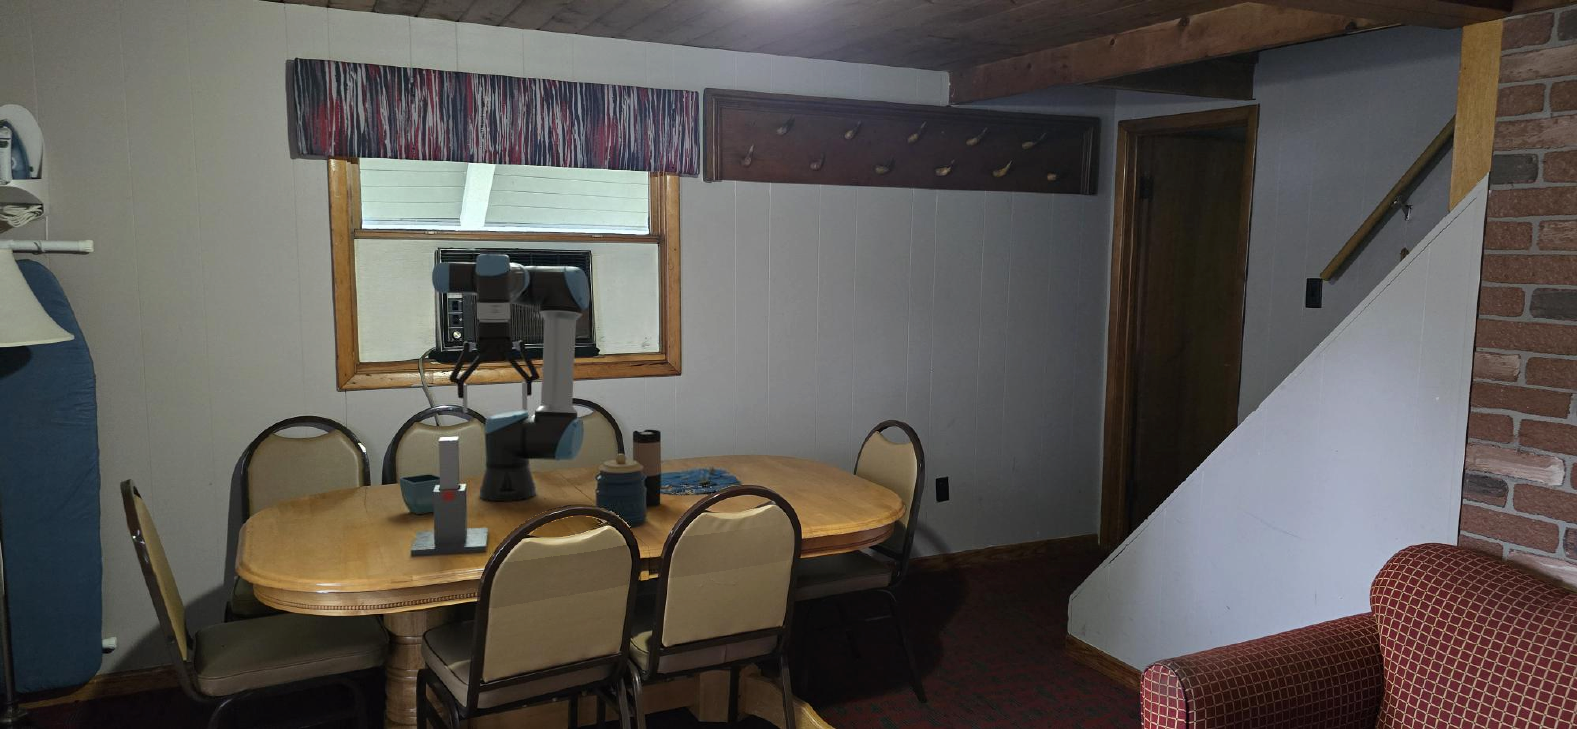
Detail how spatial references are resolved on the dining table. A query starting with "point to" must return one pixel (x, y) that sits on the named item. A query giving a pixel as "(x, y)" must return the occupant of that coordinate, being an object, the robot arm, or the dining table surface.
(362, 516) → the dining table surface
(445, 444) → the stand post
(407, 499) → the flower pot
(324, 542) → the dining table surface
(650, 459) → the travel mug
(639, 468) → the canister
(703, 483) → the ocean terrain model
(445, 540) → the jack stand base
